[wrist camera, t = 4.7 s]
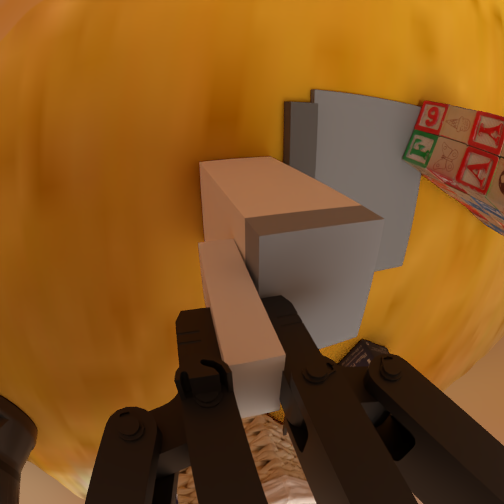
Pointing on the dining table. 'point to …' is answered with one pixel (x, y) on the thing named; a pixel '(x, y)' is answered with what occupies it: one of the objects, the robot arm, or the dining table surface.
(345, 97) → the pad
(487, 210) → the stack of blocks
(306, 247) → the tall block
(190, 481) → the storage basket
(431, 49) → the dining table surface
